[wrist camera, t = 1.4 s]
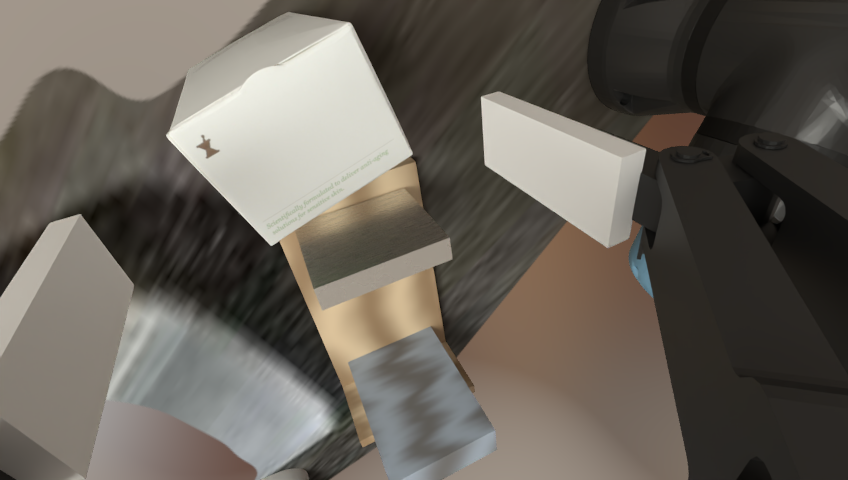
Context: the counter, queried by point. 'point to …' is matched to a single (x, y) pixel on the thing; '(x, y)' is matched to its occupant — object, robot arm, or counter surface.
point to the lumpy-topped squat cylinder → (289, 475)
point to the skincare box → (288, 122)
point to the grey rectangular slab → (370, 246)
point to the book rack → (399, 362)
